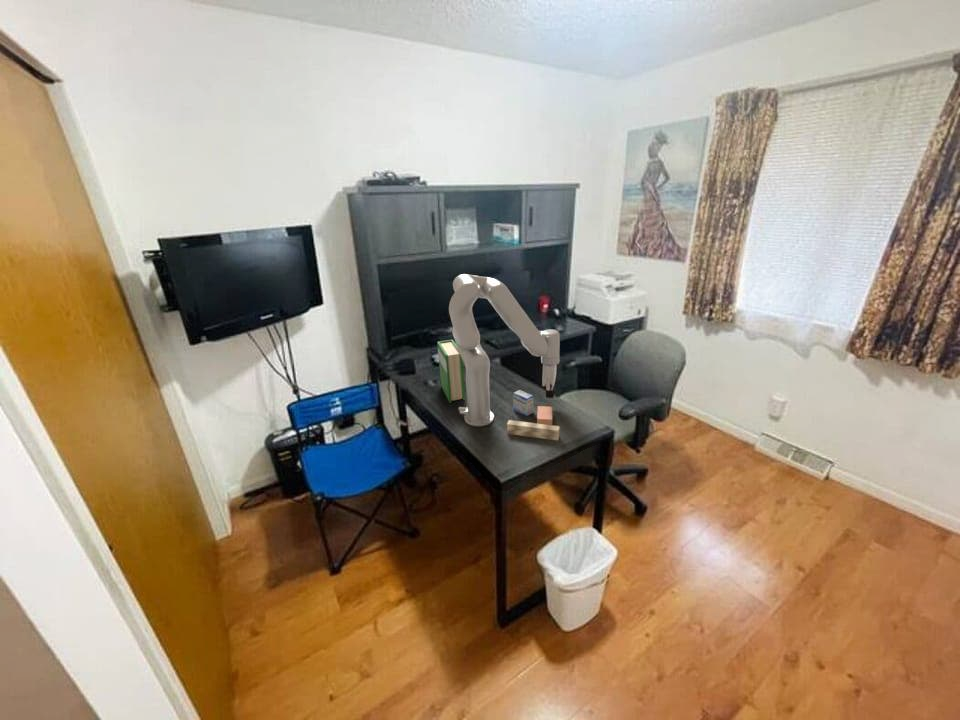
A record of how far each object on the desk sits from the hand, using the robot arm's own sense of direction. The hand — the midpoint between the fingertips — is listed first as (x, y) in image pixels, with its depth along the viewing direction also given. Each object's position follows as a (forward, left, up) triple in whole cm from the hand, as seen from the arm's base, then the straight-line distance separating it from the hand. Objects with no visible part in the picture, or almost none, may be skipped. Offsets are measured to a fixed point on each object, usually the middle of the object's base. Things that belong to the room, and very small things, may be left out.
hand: (549, 396), depth 168 cm
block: (-1, -11, -5) cm, 13 cm away
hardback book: (-47, +3, -5) cm, 47 cm away
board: (-4, -23, -5) cm, 24 cm away
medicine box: (-11, -6, -5) cm, 13 cm away
